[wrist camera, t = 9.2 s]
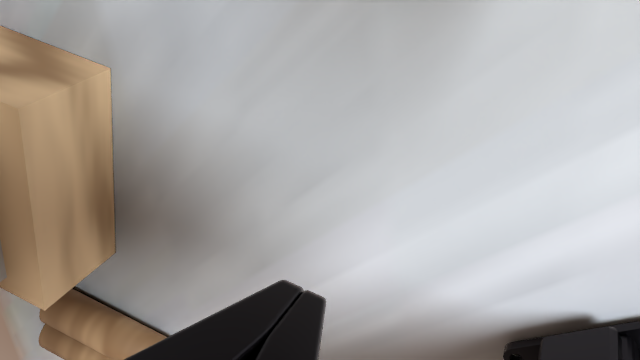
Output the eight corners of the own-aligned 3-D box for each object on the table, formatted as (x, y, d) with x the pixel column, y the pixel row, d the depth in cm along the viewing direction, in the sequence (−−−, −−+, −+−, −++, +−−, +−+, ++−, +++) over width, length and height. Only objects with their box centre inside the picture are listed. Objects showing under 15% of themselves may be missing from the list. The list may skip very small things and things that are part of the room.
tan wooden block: (110, 68, 25) (18, 109, 21) (115, 252, 32) (44, 310, 28) (-14, 20, 27) (-120, 49, 23) (14, 203, 33) (-67, 252, 29)
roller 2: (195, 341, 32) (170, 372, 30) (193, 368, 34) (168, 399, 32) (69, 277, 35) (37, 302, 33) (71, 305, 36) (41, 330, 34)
